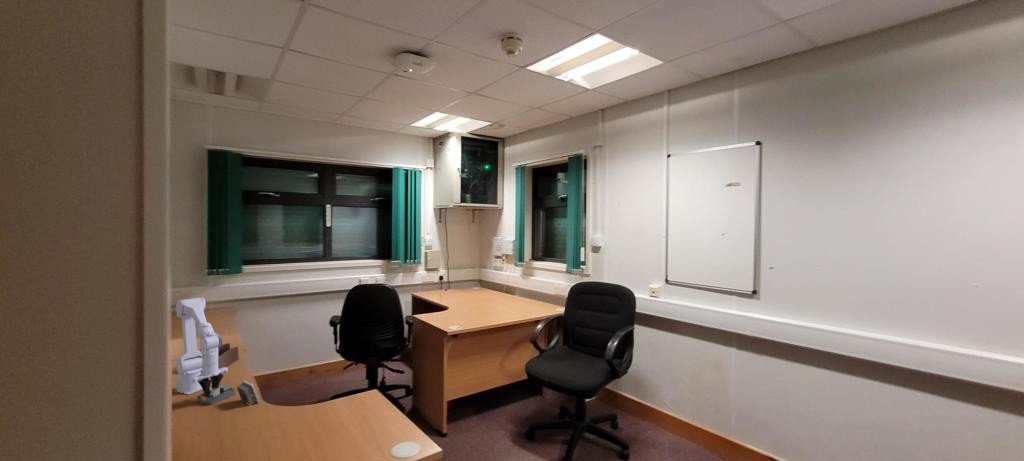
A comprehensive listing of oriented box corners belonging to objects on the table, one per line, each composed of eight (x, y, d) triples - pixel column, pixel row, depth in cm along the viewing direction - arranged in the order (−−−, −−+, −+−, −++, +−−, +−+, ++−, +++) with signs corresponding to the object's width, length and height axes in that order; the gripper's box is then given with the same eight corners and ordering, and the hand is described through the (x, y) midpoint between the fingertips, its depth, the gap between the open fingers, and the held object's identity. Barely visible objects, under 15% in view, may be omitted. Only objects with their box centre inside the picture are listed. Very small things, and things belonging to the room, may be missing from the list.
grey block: (203, 400, 177) (203, 389, 177) (210, 397, 180) (209, 386, 180) (213, 401, 175) (212, 390, 175) (219, 398, 178) (219, 387, 178)
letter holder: (199, 372, 212) (198, 346, 212) (220, 360, 231) (220, 336, 231) (219, 371, 213) (219, 345, 213) (239, 359, 233) (238, 335, 233)
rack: (196, 402, 176) (196, 392, 176) (221, 392, 186) (220, 383, 186) (211, 404, 173) (210, 394, 173) (235, 394, 184) (234, 385, 184)
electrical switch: (260, 402, 176) (258, 382, 175) (247, 408, 171) (245, 387, 171) (250, 397, 181) (247, 378, 180) (237, 403, 176) (235, 383, 176)
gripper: (200, 369, 169) (200, 401, 169) (232, 358, 183) (233, 387, 183) (188, 367, 171) (188, 399, 171) (221, 357, 185) (221, 386, 185)
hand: (210, 393), depth 177 cm, fingers closed on grey block, 3 cm apart
